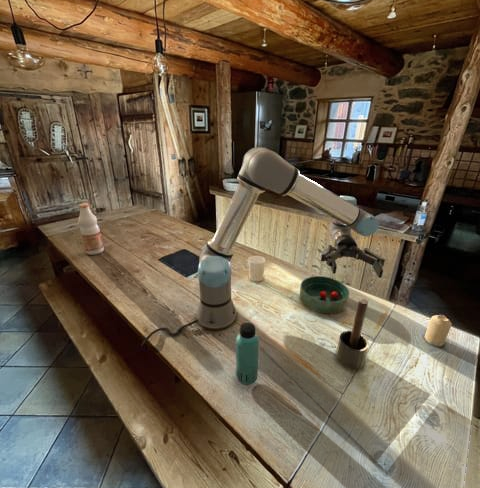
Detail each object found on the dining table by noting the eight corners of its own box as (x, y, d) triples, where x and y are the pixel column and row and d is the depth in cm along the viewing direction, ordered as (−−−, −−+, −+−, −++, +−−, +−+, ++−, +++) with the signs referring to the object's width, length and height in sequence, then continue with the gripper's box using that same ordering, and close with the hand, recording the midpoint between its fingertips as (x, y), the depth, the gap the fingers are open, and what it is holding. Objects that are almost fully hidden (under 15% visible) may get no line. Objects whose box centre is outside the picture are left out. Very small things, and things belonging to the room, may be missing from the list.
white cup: (263, 283, 124) (264, 264, 120) (246, 281, 125) (247, 262, 121) (265, 274, 131) (266, 256, 127) (249, 272, 133) (249, 255, 128)
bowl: (326, 322, 100) (329, 309, 98) (289, 296, 114) (291, 285, 112) (356, 303, 110) (359, 291, 108) (319, 282, 125) (320, 271, 122)
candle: (425, 332, 95) (433, 309, 91) (444, 339, 92) (453, 316, 88) (423, 341, 91) (431, 318, 87) (442, 349, 88) (452, 325, 84)
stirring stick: (351, 362, 82) (365, 305, 73) (344, 357, 84) (357, 300, 75) (355, 359, 84) (369, 301, 75) (349, 354, 85) (362, 297, 76)
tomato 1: (326, 291, 110) (327, 298, 110) (326, 290, 113) (327, 298, 112) (319, 291, 111) (320, 299, 111) (319, 291, 114) (320, 298, 113)
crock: (353, 375, 79) (358, 355, 76) (330, 357, 85) (334, 338, 82) (368, 362, 83) (374, 342, 80) (346, 345, 89) (350, 327, 86)
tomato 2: (333, 298, 109) (335, 291, 110) (328, 297, 112) (330, 290, 113) (338, 300, 111) (340, 293, 111) (333, 299, 113) (335, 292, 114)
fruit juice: (82, 253, 151) (69, 205, 140) (96, 246, 159) (85, 201, 148) (94, 256, 148) (82, 207, 137) (107, 249, 156) (97, 203, 144)
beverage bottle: (256, 369, 81) (258, 317, 72) (259, 390, 74) (261, 335, 66) (235, 370, 80) (235, 318, 72) (235, 390, 74) (235, 336, 66)
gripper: (377, 255, 101) (397, 286, 82) (310, 249, 105) (314, 278, 86) (381, 237, 98) (404, 264, 79) (312, 232, 102) (317, 257, 83)
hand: (357, 271), depth 82 cm, fingers open, 13 cm apart
